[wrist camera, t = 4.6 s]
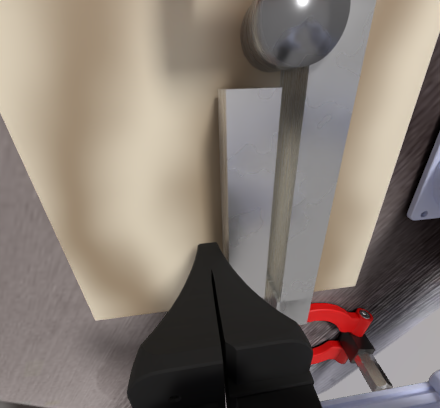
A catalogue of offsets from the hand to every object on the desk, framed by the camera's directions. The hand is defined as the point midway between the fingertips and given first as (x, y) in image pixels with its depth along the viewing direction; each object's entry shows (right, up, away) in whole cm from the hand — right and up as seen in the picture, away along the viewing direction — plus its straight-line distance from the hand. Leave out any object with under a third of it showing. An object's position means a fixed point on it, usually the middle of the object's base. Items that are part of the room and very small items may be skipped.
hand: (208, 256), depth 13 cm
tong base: (+4, +6, -1) cm, 7 cm away
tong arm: (+2, +2, 0) cm, 3 cm away
